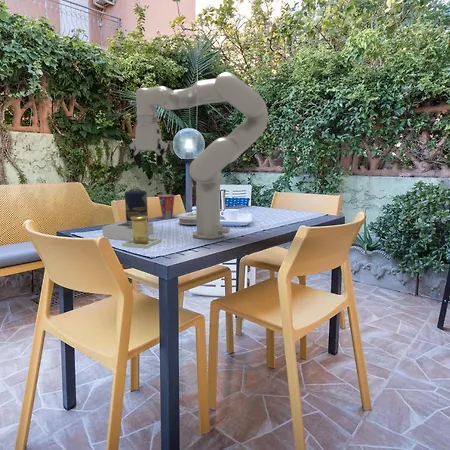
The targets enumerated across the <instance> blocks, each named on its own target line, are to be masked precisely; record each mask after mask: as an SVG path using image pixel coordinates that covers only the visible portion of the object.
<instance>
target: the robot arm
mask: <svg viewBox="0 0 450 450" xmlns="http://www.w3.org/2000/svg"><path fill="white" fill-rule="evenodd" d="M135 98H136V99H135V100H136V101H135V102H136V116H137V117H136V118H137V125H136V126H135V135H134V141H132V142H131V143H129V145H128V146H129V149H130V151H131V152H132V153H133V156H134V157H135V165H136V166H138V167H139V166H142V165H143V163H142V162H143V161H142V155H141V154H142V152H143V151H144V152H145V151H146V152H149V151H150V152H151V151H152V152H153V151H154V152H155V153H156V154H157V155H156V166H163V163H164V161H163V156H164V155H165V153H166V152H167V149H168V146H169V144H168V143H167V142H165V141H163V140H162V132H161V129H160V125H158V122H160V118H159V117H158V116H157V107H159V108H162V109H165V110H168V111H171V110H180V109H188V108H193V107H199V106H201V105H208V104H216V103H217V104H218V103H224V102H227V103H229V104H230V105H231V106H232V107H234V108H235V109H236V110H237V111H239V112H240V113H241V114H242V115H244V116H245V119H244V120H243V122H241V123H240V124H238V126H237V127H235V129H234V130H232V131H231V132H230V133H229V134H228V135H227V136H221V137H219V138H217V139H215V140H214V141H212V142H211V143H210V144H209V145H208V146H207V147H206V148H205V149H204V150H202V151H201V152H200V153H199V154H198V155H197V156H195V158H193V160H192V161H191V163H190V165H189V169H188V170H189V175H190V177H191V179H192V180H193V181H195V183H196V186H195V207H196V208H195V210H196V211H195V213H196V220H197V224H196V231H194V232H192V237H193V238H195V239H202V240H215V239H220V238H223V237H224V236H225V234H230V231H231V230H230V228H229V227H223V224H221V177H222V176H221V175H222V170H223V169H224V168H226V167H227V165H229V164H231V163H233V162H235V161H236V160H238V158H239V157H240V156H241V155H242V154H243V153H244V152H245V151H246V150H248V148H250V147H251V145H253V144H254V143H255V142H256V141H257V140H258V139H259V138H260V137H261V136H262V135H263V133H264V131H265V130H266V128H267V125H268V121H269V112H268V107H267V104H266V101H265V99H263V97H262V96H261V94H260V93H258V92H257V91H256V90H254V89H253V88H252V87H251V86H249V85H248V84H246V82H244V81H243V80H242V79H240V78H239V77H238V76H237V75H235V74H234V73H232V72H229V71H225V72H221V73H219V74H218V75H217V76H216V78H215V77H214V78H209V79H208V78H207V79H200V80H196V81H195V82H194V83H193V84H192V86H189V87H185V88H182V89H181V88H180V89H174V90H173V89H171V88H169V87H167V86H164V85H158V86H153V87H140V88H139V87H138V88H137V89H136V91H135Z"/></svg>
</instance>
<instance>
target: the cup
mask: <svg viewBox="0 0 450 450" xmlns="http://www.w3.org/2000/svg"><path fill="white" fill-rule="evenodd" d="M157 197H158V198H159V205H160V211H161V217H162V219H163V220H165V219H167V220H169V219H173V216H174V205H175V204H174V203H175V197H176V195H175V194H158V195H157Z"/></svg>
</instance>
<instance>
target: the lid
mask: <svg viewBox="0 0 450 450" xmlns="http://www.w3.org/2000/svg"><path fill="white" fill-rule="evenodd" d="M178 219H179V221H178V223H179V224H181V225H197V220H196V212H194V213H193V212H189V213H188V212H187V213H183V214H180V215H179V216H178Z"/></svg>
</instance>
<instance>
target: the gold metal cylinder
mask: <svg viewBox="0 0 450 450" xmlns="http://www.w3.org/2000/svg"><path fill="white" fill-rule="evenodd" d="M147 218H148V219H149V216H146V215H138V216H132V217H131V219H132V230H133V243H132V244H142V245H147V244H149V243H150V241H148V238H149V235H148V227H147Z"/></svg>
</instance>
